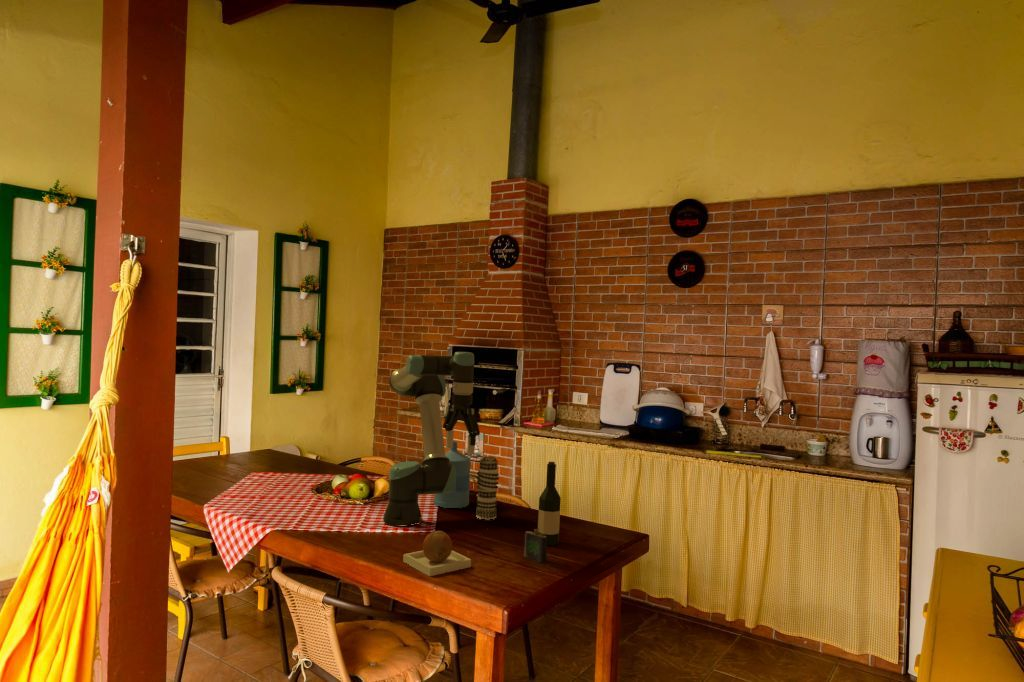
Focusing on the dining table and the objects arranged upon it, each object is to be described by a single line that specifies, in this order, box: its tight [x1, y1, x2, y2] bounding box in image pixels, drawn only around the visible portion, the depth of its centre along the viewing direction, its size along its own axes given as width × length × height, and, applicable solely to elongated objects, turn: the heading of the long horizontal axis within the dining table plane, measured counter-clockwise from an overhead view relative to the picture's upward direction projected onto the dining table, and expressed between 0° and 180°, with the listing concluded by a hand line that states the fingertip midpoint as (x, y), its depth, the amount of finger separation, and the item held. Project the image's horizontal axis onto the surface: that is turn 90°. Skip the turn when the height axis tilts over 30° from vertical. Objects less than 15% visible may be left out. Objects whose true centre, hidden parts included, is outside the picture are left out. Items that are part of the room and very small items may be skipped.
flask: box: [523, 528, 547, 564], centre depth 236 cm, size 9×3×11 cm, turn 48°
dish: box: [402, 549, 472, 577], centre depth 226 cm, size 16×16×2 cm
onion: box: [422, 530, 453, 562], centre depth 226 cm, size 10×10×10 cm
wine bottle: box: [537, 461, 562, 546], centre depth 255 cm, size 8×8×30 cm
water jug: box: [433, 440, 472, 509], centre depth 304 cm, size 16×16×28 cm
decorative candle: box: [475, 455, 500, 521], centre depth 286 cm, size 9×9×25 cm
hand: (459, 451), depth 254 cm, fingers open, 13 cm apart
